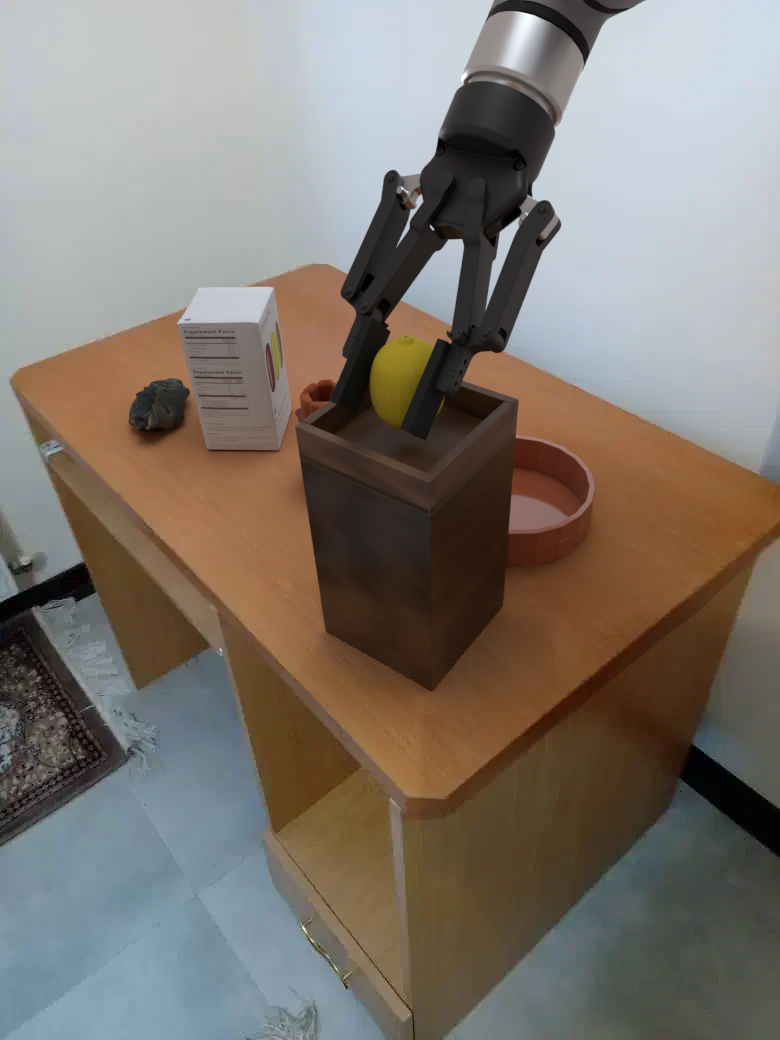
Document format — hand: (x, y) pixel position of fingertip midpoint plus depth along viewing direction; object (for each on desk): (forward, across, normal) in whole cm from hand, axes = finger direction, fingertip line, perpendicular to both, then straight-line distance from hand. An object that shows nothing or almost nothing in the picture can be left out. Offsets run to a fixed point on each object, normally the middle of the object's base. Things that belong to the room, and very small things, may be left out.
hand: (377, 419), depth 56 cm
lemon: (0, 0, -5) cm, 5 cm away
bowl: (+2, 0, -32) cm, 33 cm away
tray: (+1, 0, -6) cm, 6 cm away
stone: (+8, +47, -27) cm, 55 cm away
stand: (+15, 0, -20) cm, 25 cm away
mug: (+5, +19, -30) cm, 36 cm away
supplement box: (+5, +35, -30) cm, 46 cm away
